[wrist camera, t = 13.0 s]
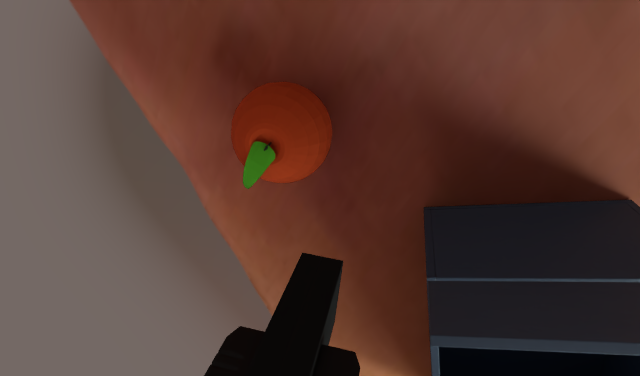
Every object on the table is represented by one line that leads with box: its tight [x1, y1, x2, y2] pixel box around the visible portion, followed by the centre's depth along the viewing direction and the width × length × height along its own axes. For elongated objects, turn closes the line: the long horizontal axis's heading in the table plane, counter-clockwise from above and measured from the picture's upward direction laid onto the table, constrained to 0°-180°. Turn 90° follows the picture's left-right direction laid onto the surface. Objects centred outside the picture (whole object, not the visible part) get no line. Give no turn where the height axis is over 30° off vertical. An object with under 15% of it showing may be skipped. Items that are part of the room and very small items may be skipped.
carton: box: [424, 200, 640, 376], centre depth 29 cm, size 19×14×10 cm
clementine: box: [231, 82, 332, 189], centre depth 28 cm, size 8×7×7 cm
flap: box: [428, 281, 640, 356], centre depth 17 cm, size 9×14×1 cm
